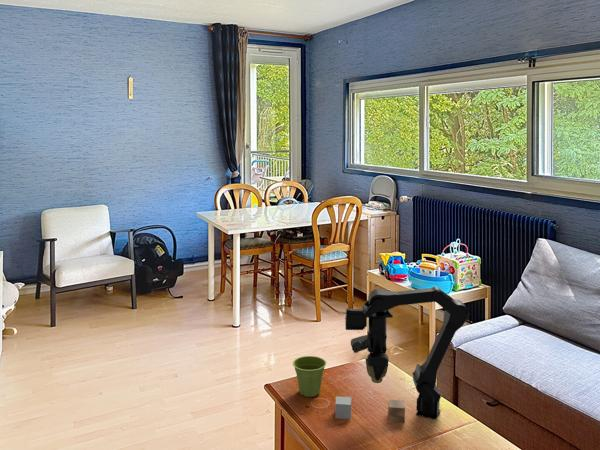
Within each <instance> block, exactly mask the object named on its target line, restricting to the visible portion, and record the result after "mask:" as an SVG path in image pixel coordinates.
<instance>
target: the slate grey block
mask: <svg viewBox="0 0 600 450" xmlns="http://www.w3.org/2000/svg"><path fill="white" fill-rule="evenodd" d="M334 407H335V409H334V413H335V414H334V418H335V419H342V420H343V419H345V420H346V419H347V420H351V417H352V397H351V396H350V397H349V396H336V397H335V403H334Z"/></svg>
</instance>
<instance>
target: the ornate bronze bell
mask: <svg viewBox="0 0 600 450" xmlns="http://www.w3.org/2000/svg"><path fill="white" fill-rule="evenodd" d="M388 362H390V361H389V357H388ZM365 364H366V366H365V367H366V372H367V375H368V376H369V377H370V379H371V382H372V383H374V384H381V383H382V382H383V379H384V378H385V376H386V375H387V372H388V367H389V365H388V366H387V367H386V368H385V369H384V371H383V373H382V375H381V377H380V380H379V381H377V380H376V379H375V375H374V370H373V367H372V366H368V355H367V357H365Z"/></svg>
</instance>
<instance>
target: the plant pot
mask: <svg viewBox="0 0 600 450" xmlns="http://www.w3.org/2000/svg"><path fill="white" fill-rule="evenodd" d="M292 365H293V367H294V370H295V371H294V372H295V374H296V379H297V385H298V391H299V394H300V395H301V396H304V397H307V398H310V397H312V398H313V397H316V396H317V395H319V394H320V393H321V388H322V382H323V375H324V371H325V367H326V366H327V361H326V360H325V359H324V358H323V357H319V356H317V355H315V356H314V355H304V356H303V355H302V356H299V357H297V358H295V359H294V360H293V362H292Z"/></svg>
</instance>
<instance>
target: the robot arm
mask: <svg viewBox="0 0 600 450" xmlns="http://www.w3.org/2000/svg"><path fill="white" fill-rule="evenodd" d="M425 303H427V304H428V303H437V304H438V306H440V307H441V308H442V309H444V313H443V319H442V325H441V327H440V329H439V332H438V334H437V336H436V338H435V340H434V342H433V345H432V346H431V348H430V351H429V352H428V353H429V354H428V355H427V357H426V360H425V361H424V363H422V364H421V365H420V364H419V363H417V364H416V366H415V369H414V371H413V372H412V373H411V375H412V382H413V384H414V386H415V387H414V388H415V389H416V392H417V393H418V396H417V398H416V409H415V411H417V412H416V416H419V417H424V418H427V419H431V420H437V419H438V417H439V416H440V413H441V409H440V405H441V404H440V400H441V398H442V396H441V393H440V390H439V388H438V386H437V377H438V370H439V368H440V366H441V364H442V362H443V359H444V357H445V356H446V353H447V351H448V349H449V347H450V345H451V342H452V340H453V338H454V337H455V334H456V332H458V330H460V329H461V328H462V327H463V326H464V324H465V323H466V322H467V320H468V319H469V316H470V312H469V309H468V307H466V305H465V304H464V302H463V301H462V300H460V299H457V298H453V297H451V296H450V295H449V294H447V293H446V292H445V291H444V290H442V289H441V288H440V287H439V286H433V287H429V288H428V287H427V288H418V289H407V290H400V291H399V290H398V291H397V290H396V291H395V290H394V291H393V290H389V289H379V288H378V289H372V290H371V291H370V293H369V294H368V296H367V300H366V301H365V303H364V304H363V305H362V307H361V308H349V307H347V308H346V309H345V318H344V320H345V321H344V322H345V323H344V324H345V330H346V331H363V330H365V329H366V327H368V330H367V334H365V335H364V334H363V335H361V336H357V337H354V338H351V339H350V346H351V350H352V351H353V353H354V354H357V353H359V352H361V351H362V352H363V351H365V350H367V352H368V353H369V354H367V356H368V366H372V367H373V370H374V375H375V379H376V380H377V381H379V380H380V377H381V375H382V373H383V371H384V369H385V368H386V367H387V366H388V367H389V361H388V358H389V356H388V355H387V353H386V352H387V349H388V348H387V347H388V346H387V338H388V336H387V321H388V319H389V318H391V319H392V318H393V317H394V315H393V312H391V310H392V309H394V308H396V307H398V306H408V305H415V304H416V305H417V304H418V305H419V304H425ZM367 323H368V324H367ZM367 325H368V326H367Z"/></svg>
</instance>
